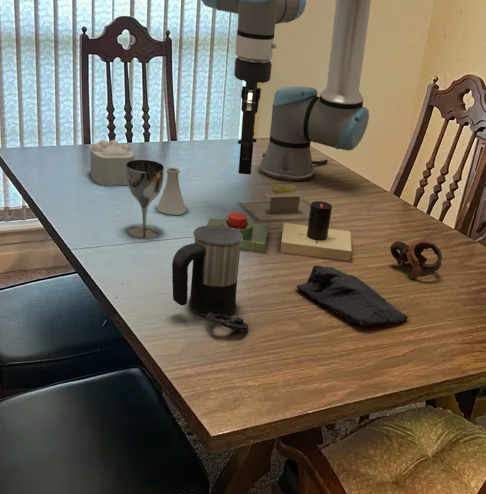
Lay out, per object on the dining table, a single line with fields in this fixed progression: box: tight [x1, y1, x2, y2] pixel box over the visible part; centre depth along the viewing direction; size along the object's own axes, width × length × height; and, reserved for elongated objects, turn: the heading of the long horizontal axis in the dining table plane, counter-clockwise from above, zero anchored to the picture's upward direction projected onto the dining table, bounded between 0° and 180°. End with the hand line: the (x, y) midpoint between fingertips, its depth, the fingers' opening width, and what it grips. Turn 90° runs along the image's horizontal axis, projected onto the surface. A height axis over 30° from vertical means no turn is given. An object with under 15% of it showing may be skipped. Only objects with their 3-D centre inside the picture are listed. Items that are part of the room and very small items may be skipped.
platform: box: [241, 184, 311, 219], centre depth 194 cm, size 12×18×7 cm, turn 114°
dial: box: [307, 200, 333, 240], centre depth 175 cm, size 5×5×8 cm
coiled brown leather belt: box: [389, 240, 443, 280], centre depth 173 cm, size 12×10×8 cm
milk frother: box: [171, 224, 250, 333], centre depth 141 cm, size 14×16×15 cm
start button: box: [227, 211, 248, 227], centre depth 174 cm, size 4×4×2 cm
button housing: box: [206, 216, 269, 253], centre depth 176 cm, size 14×11×4 cm
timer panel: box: [279, 222, 353, 262], centre depth 178 cm, size 16×12×3 cm
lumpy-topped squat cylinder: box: [89, 139, 135, 187], centre depth 199 cm, size 10×13×9 cm
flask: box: [156, 166, 187, 216], centre depth 184 cm, size 7×7×10 cm
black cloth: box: [296, 264, 409, 326], centre depth 155 cm, size 15×22×5 cm
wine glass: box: [126, 159, 165, 239], centre depth 170 cm, size 8×8×15 cm
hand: (244, 172), depth 171 cm, fingers closed
